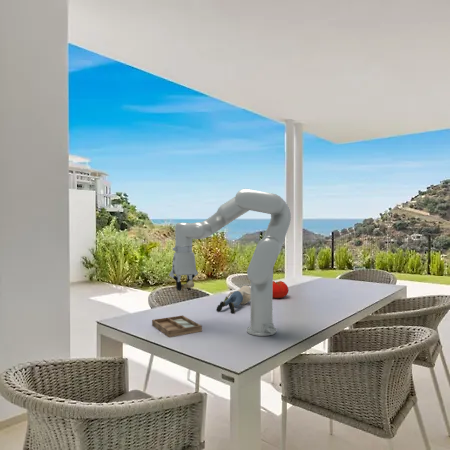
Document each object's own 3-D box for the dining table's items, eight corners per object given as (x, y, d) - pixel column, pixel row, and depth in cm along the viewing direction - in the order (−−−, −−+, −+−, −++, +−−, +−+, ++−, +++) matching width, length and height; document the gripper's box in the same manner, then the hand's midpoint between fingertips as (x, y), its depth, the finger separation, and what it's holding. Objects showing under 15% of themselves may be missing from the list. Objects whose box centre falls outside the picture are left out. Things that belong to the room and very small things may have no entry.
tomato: (285, 294, 245) (285, 279, 245) (290, 300, 229) (290, 283, 228) (263, 294, 244) (263, 279, 244) (266, 300, 228) (266, 283, 228)
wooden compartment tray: (201, 331, 165) (201, 325, 165) (169, 337, 157) (168, 331, 157) (182, 320, 183) (182, 315, 183) (152, 325, 175) (152, 319, 175)
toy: (246, 319, 193) (267, 302, 219) (245, 300, 192) (266, 285, 218) (206, 314, 204) (231, 299, 230) (205, 296, 203) (230, 282, 229)
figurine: (170, 293, 176) (190, 290, 165) (169, 283, 176) (189, 280, 166) (177, 292, 178) (197, 289, 168) (176, 282, 179) (196, 279, 169)
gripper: (169, 251, 164) (169, 293, 164) (203, 249, 173) (203, 289, 173) (163, 249, 171) (163, 290, 171) (196, 248, 179) (196, 286, 179)
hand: (183, 289), depth 172 cm, fingers closed on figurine, 4 cm apart
